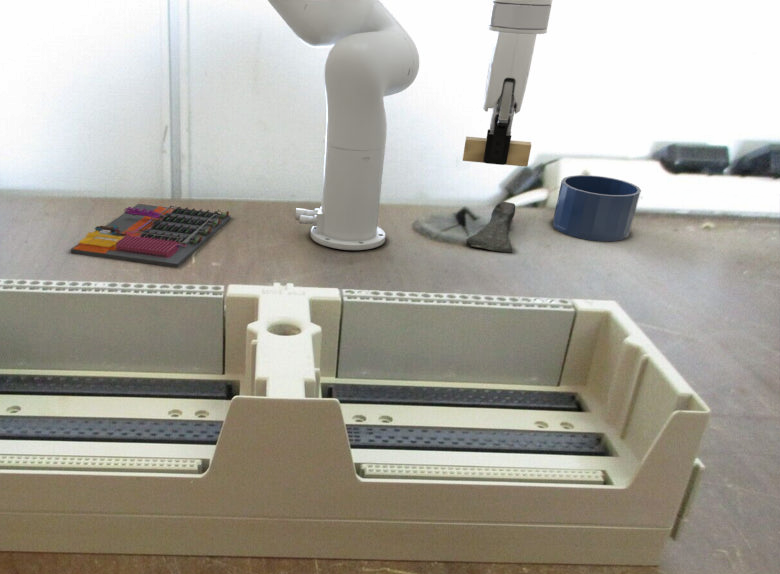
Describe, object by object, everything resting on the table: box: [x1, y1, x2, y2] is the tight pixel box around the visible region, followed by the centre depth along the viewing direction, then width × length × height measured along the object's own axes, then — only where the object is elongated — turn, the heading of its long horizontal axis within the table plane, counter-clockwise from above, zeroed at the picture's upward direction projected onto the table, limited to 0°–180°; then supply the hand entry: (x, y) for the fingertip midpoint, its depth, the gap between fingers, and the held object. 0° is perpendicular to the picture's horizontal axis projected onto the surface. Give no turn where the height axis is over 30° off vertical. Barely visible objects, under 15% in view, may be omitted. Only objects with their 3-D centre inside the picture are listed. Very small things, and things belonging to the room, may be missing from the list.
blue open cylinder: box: [552, 174, 642, 242], centre depth 137 cm, size 13×13×8 cm
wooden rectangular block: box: [462, 136, 532, 168], centre depth 108 cm, size 9×2×3 cm, turn 77°
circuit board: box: [70, 203, 231, 268], centre depth 126 cm, size 25×18×3 cm
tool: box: [465, 201, 516, 254], centre depth 134 cm, size 21×8×3 cm, turn 160°
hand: (494, 160), depth 109 cm, fingers closed on wooden rectangular block, 2 cm apart
